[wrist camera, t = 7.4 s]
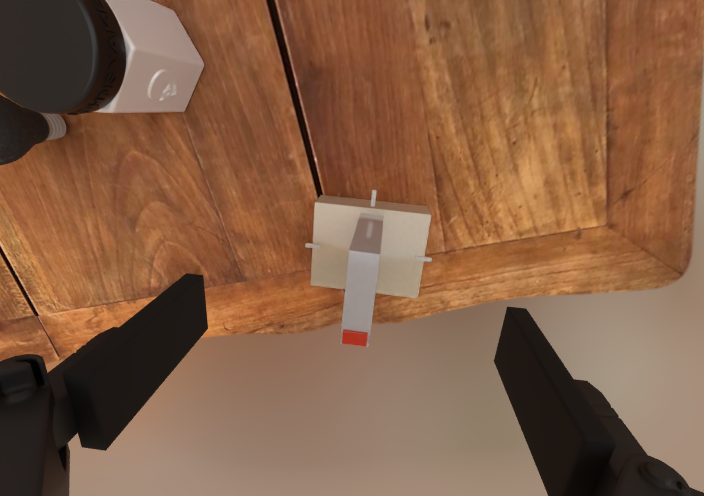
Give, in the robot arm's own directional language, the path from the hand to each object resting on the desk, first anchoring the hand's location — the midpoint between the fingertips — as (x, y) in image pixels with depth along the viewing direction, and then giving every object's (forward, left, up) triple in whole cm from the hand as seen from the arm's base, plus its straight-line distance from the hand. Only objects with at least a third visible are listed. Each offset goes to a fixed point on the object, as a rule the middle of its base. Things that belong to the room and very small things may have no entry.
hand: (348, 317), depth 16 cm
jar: (+20, -11, -20) cm, 30 cm away
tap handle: (0, +3, -17) cm, 17 cm away
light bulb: (+30, -5, -20) cm, 36 cm away
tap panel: (0, +3, -20) cm, 20 cm away
